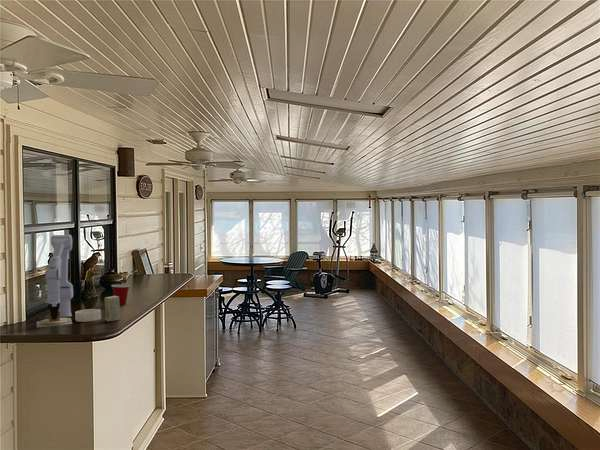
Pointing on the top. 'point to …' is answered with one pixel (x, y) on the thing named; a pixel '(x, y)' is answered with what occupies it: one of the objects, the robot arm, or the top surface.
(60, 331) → the top surface
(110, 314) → the skincare box
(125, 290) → the plastic cup
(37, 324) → the mat
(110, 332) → the top surface
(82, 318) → the bowl
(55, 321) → the lid
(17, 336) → the top surface
